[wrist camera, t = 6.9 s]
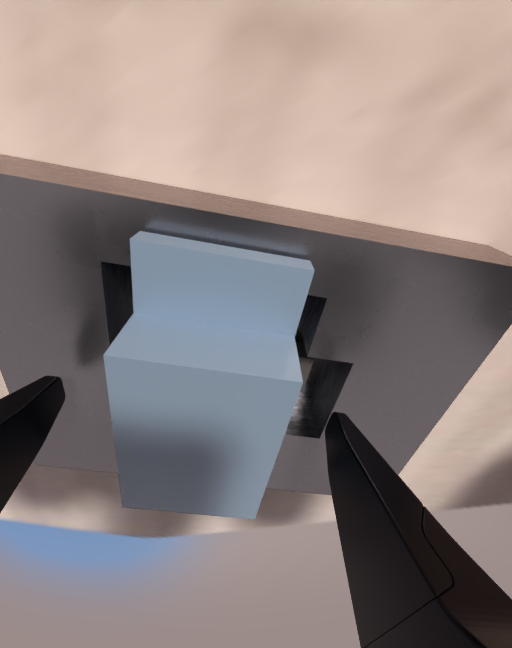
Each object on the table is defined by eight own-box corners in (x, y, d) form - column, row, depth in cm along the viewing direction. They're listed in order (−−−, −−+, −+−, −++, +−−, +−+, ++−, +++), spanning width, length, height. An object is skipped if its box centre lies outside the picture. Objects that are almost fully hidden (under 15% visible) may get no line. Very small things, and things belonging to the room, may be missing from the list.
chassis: (489, 245, 10) (549, 273, 8) (363, 453, 16) (379, 499, 14) (1, 154, 9) (-80, 159, 7) (67, 419, 15) (36, 464, 13)
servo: (344, 243, 10) (408, 318, 6) (279, 436, 15) (287, 548, 11) (166, 210, 9) (92, 267, 5) (163, 422, 15) (125, 535, 11)
